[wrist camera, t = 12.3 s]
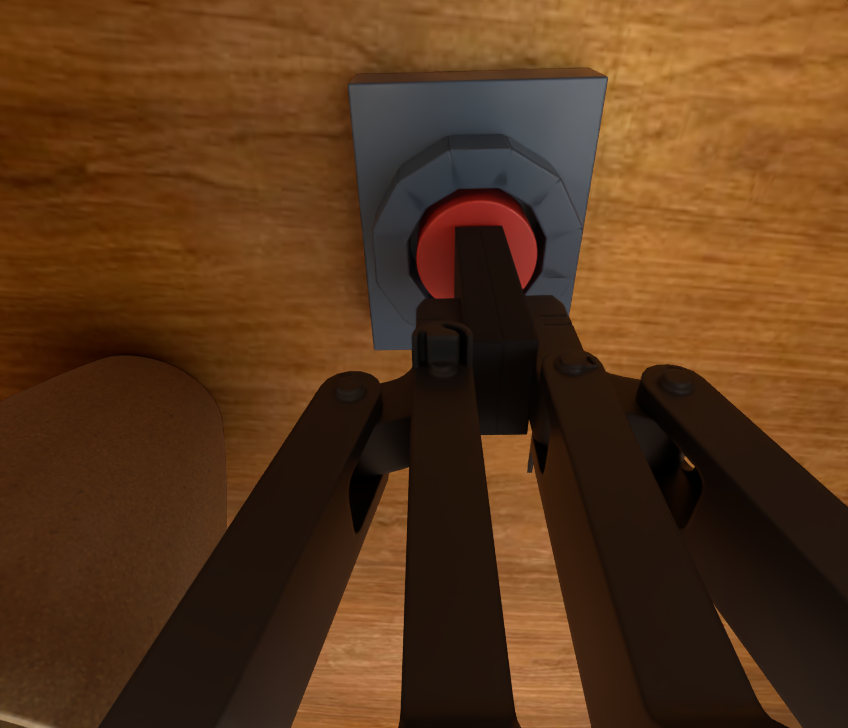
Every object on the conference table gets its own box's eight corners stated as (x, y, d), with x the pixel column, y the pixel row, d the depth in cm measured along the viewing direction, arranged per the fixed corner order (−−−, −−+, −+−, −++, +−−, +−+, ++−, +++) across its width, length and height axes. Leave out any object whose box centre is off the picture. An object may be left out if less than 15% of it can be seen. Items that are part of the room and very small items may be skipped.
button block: (355, 74, 18) (338, 93, 14) (590, 67, 17) (627, 85, 14) (378, 323, 23) (370, 377, 20) (553, 320, 23) (574, 373, 20)
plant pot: (235, 532, 33) (110, 886, 20) (-24, 436, 28) (-416, 823, 15) (350, 380, 25) (270, 785, 12) (25, 214, 21) (-658, 597, 8)
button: (415, 184, 17) (414, 201, 16) (534, 181, 17) (544, 198, 16) (418, 290, 20) (418, 313, 18) (523, 288, 19) (531, 311, 18)
